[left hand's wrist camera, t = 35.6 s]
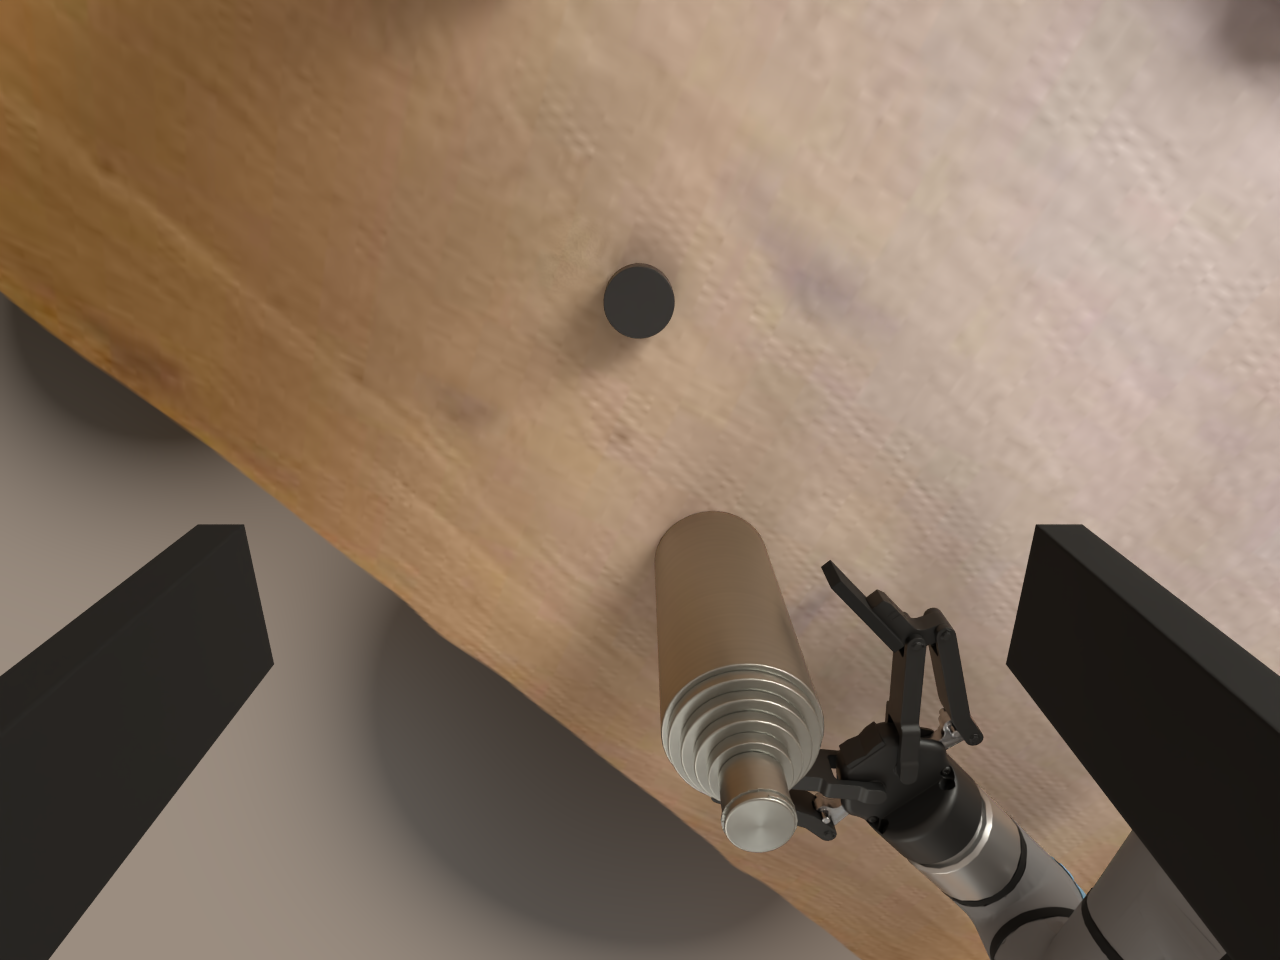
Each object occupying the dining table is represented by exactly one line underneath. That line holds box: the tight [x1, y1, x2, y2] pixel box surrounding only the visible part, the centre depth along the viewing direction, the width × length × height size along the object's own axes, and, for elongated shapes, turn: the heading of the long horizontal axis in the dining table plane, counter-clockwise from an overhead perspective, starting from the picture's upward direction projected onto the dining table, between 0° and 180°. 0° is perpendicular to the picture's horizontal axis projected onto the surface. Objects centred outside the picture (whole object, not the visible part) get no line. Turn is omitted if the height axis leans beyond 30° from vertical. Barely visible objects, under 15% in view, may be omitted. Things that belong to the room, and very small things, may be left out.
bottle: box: [655, 511, 824, 853], centre depth 43 cm, size 8×8×24 cm
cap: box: [604, 263, 675, 338], centre depth 46 cm, size 4×4×2 cm
